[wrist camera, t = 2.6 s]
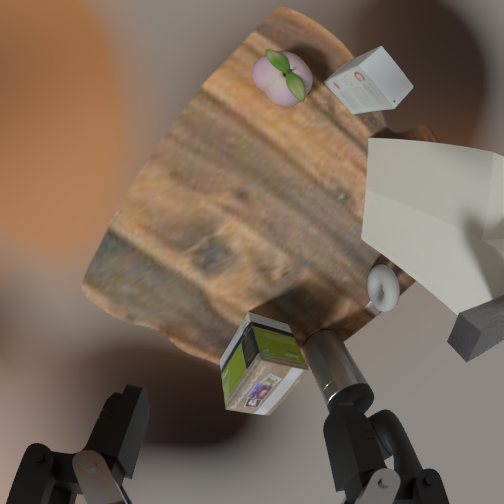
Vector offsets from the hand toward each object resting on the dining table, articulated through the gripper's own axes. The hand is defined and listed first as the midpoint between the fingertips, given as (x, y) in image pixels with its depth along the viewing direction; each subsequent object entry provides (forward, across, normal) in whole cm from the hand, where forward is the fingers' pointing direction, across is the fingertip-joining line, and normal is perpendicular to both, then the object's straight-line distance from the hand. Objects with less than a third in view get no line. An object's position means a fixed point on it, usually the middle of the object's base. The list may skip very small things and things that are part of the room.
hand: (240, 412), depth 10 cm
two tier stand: (+42, +29, +9) cm, 52 cm away
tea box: (+40, +5, -28) cm, 49 cm away
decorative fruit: (+39, +2, +23) cm, 45 cm away
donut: (+43, +29, -11) cm, 53 cm away
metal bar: (+8, +29, +2) cm, 30 cm away
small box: (+40, +15, +26) cm, 50 cm away
